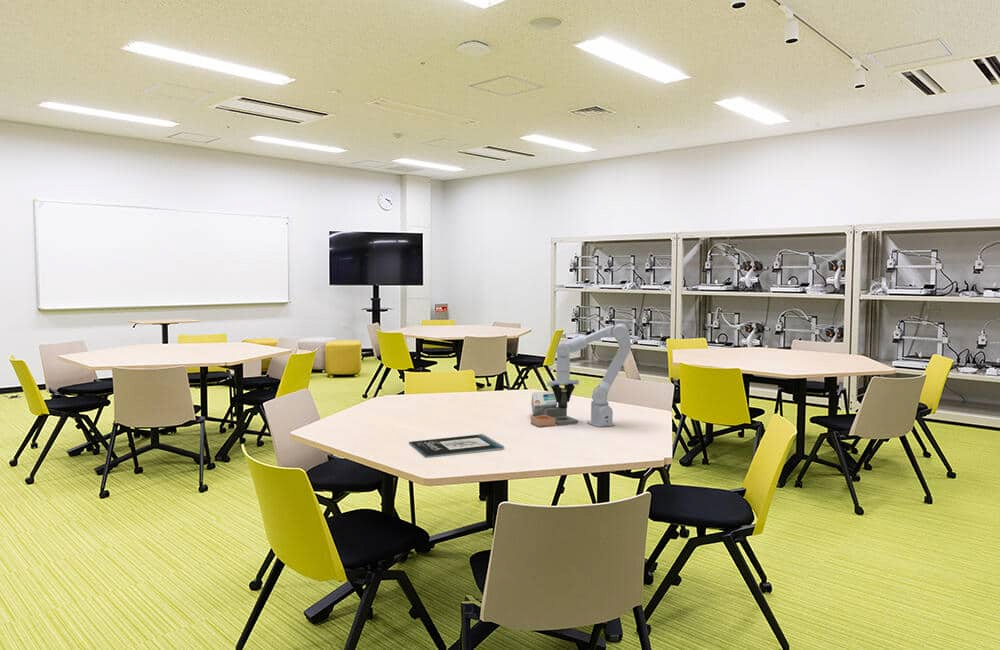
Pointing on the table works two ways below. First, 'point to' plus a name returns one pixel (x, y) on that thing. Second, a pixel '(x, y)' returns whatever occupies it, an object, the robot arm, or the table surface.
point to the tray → (543, 421)
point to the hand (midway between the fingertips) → (562, 401)
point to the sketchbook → (456, 445)
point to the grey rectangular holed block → (559, 416)
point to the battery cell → (563, 398)
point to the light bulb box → (542, 402)
